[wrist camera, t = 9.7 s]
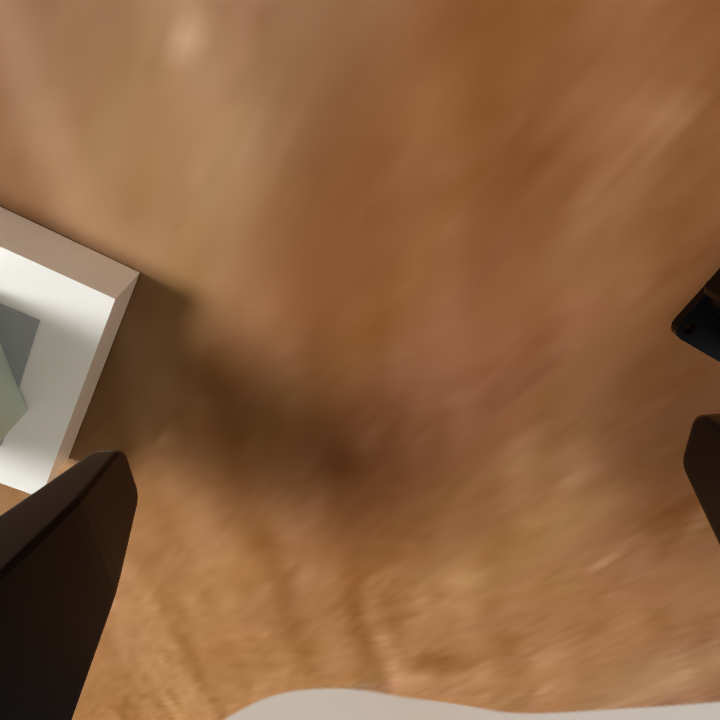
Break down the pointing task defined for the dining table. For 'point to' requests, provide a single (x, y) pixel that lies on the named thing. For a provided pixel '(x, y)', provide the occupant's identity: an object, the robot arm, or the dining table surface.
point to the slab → (53, 340)
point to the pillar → (9, 398)
